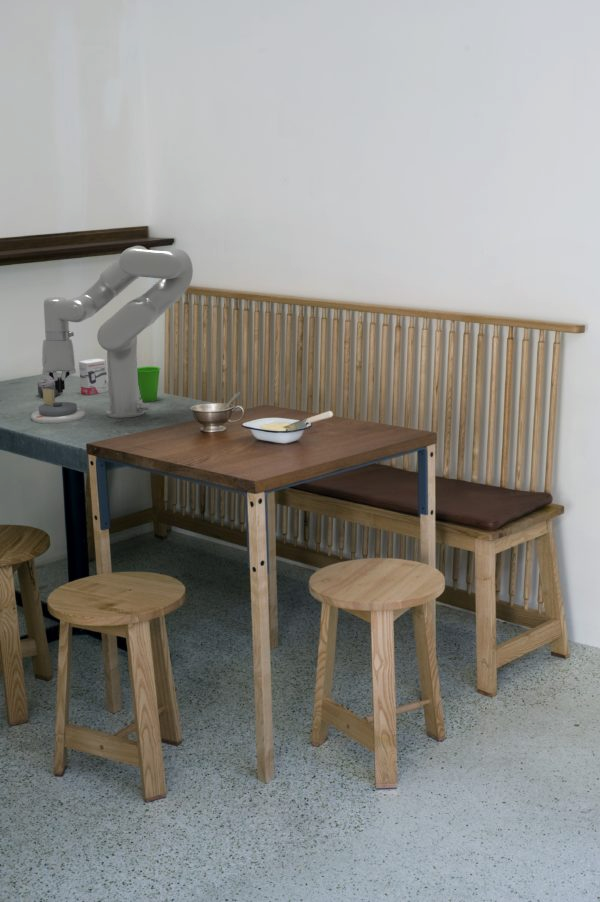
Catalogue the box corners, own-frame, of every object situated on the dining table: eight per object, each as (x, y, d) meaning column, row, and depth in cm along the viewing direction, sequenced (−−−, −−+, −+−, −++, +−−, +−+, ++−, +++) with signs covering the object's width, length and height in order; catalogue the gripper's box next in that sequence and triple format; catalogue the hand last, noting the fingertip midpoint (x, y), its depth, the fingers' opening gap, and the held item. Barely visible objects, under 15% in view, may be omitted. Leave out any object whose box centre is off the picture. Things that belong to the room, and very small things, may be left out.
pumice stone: (33, 403, 391) (52, 398, 385) (26, 382, 390) (45, 377, 384) (53, 397, 399) (72, 392, 393) (47, 377, 398) (66, 371, 392)
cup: (167, 398, 381) (165, 367, 379) (150, 403, 374) (148, 372, 371) (147, 396, 386) (145, 365, 383) (130, 401, 379) (128, 369, 376)
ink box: (88, 395, 391) (86, 362, 388) (80, 393, 394) (78, 361, 391) (108, 391, 396) (106, 359, 393) (100, 390, 400) (98, 358, 397)
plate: (94, 412, 363) (93, 407, 362) (70, 424, 347) (69, 418, 347) (47, 410, 367) (47, 405, 367) (22, 422, 352) (21, 416, 351)
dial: (84, 410, 357) (82, 389, 356) (54, 417, 349) (52, 396, 347) (60, 406, 365) (58, 385, 363) (30, 412, 356) (28, 391, 355)
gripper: (80, 333, 361) (82, 388, 365) (33, 335, 357) (36, 390, 362) (81, 337, 354) (84, 393, 358) (33, 338, 350) (37, 395, 355)
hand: (60, 391), depth 360 cm, fingers closed
